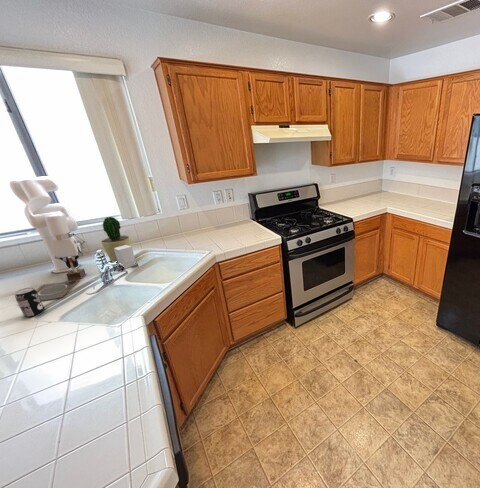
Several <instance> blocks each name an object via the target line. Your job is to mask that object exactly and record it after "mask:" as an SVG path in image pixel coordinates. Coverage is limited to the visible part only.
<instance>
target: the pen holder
mask: <svg viewBox="0 0 480 488" xmlns="http://www.w3.org/2000/svg"><path fill="white" fill-rule="evenodd" d="M76 269H77V272H73V271H72V270H70V271H67V273H66V274H65V276H66V279H67V281H74V280H78V279H80V280H82V279H83V278H84V277H85V276H86V275H87V273H86V270H85V269H84V268H76Z"/></svg>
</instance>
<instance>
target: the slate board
mask: <svg viewBox="0 0 480 488" xmlns="http://www.w3.org/2000/svg"><path fill="white" fill-rule="evenodd" d="M80 281H81V279H77V280H70V281H68V280H67V281H63V282H62V281H60V282H54V283H47V284H46V283H45V284H42V285H41V286H39V287H38V288H37V289H35V290H36V291H37V293H38V295H39V298H40V300H41V302H46V301H52V300H58V299H63V298H64V297H65V296H66V295H67V294H68V293H69V292H70V291H71V290H72V289H73V288H74V287H75V286H76V285H78V283H79V282H80Z"/></svg>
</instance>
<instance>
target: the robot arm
mask: <svg viewBox="0 0 480 488" xmlns="http://www.w3.org/2000/svg"><path fill="white" fill-rule="evenodd" d="M9 187H10V190H11V192H13V194H14V195H15V196H16V197H17V198H18V199H19V200H20V201H22V203H24V205H25V207H24V209H23V210H24V216H25V217H26V219H27V221H28V223H29V224H30V225H31V226H32V228H34V229H36V231H37V232H38V234H39V236H40V237H41V239H42V241H43V243H44V245H45V248H46V250H47V253H48V255H49V257H50V260H51V262H52V265H53V268H52V269H51V272H52V273H54V274H58V273H59V274H60V273H66V272H69V271H71V270H72V268H71V266H70V263H69V261H68V258H71V257H72V260H73V261H72V263H73V266H74V267H75V268H76V269H78V268H79V267H80V263H79V261H78V259H79V258H80V257H83V255H84V253H83V252H82V249H81V247H80V245H79V243H78V241H77V240H76V238H75V233H73V232H76V231H77V230H78V229H79V225H78V222H77V221H76V218H75V217H74V216H73V214H72V212H71V211H70V209H69V207H68V206H67V205H66V204H64V203H61V202H55V203H51V202H52V198H51V195H49V192H50V193H51V192H57V191H58V189H59V185H58V183H57V181H56V180H55V178H53V177H51V176H34V177H23V178H22V177H21V178H15V179H12V180H11V181H9Z"/></svg>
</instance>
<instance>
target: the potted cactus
mask: <svg viewBox="0 0 480 488" xmlns="http://www.w3.org/2000/svg"><path fill="white" fill-rule="evenodd" d="M120 222H121V221H120V220H118V219H117V218H116V217H114V216H107V217H104V219H103V221H102V225H101V227H102V228H103V232H104V233H105V234H106V236H107V237H106V238H103V239H101V240H100V244H101V246H102V248H103V249H104V251H105V252H106V255H107V257H108V258H109V260H110V262H111V261H117V257H116V254H115V251H114V248H116V247H120V246H123V245H129V246H131V236H130V235H126V234H125V235H124V234H123V235H122V234H121V228H122V226H121V223H120ZM131 247H132V246H131ZM117 262H118V261H117Z"/></svg>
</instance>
